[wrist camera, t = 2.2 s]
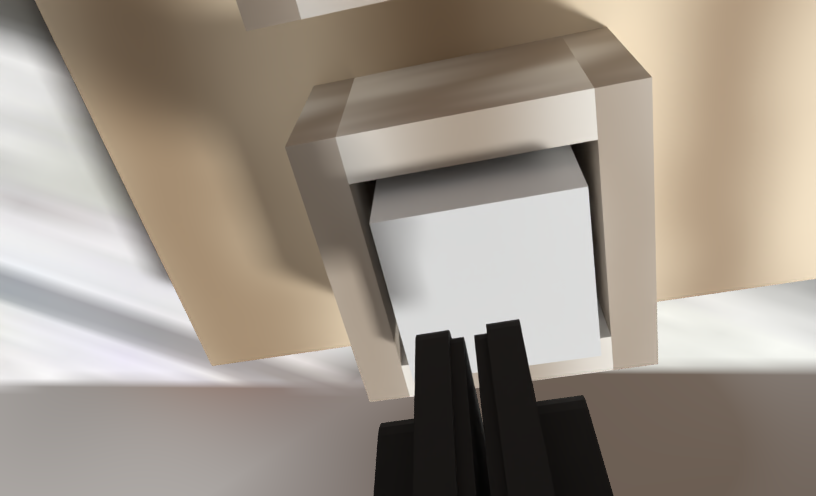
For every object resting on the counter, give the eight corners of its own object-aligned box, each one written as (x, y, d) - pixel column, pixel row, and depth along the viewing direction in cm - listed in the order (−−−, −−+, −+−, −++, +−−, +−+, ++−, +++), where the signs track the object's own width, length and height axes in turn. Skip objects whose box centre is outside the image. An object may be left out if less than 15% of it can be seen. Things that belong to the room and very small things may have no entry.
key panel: (870, -679, 11) (1295, -1177, 6) (783, 221, 21) (914, 366, 15) (-58, -374, 14) (-394, -515, 8) (236, 306, 23) (173, 458, 17)
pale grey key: (560, 124, 14) (587, 187, 12) (575, 274, 16) (601, 355, 14) (380, 156, 15) (369, 223, 12) (416, 298, 17) (413, 381, 14)
